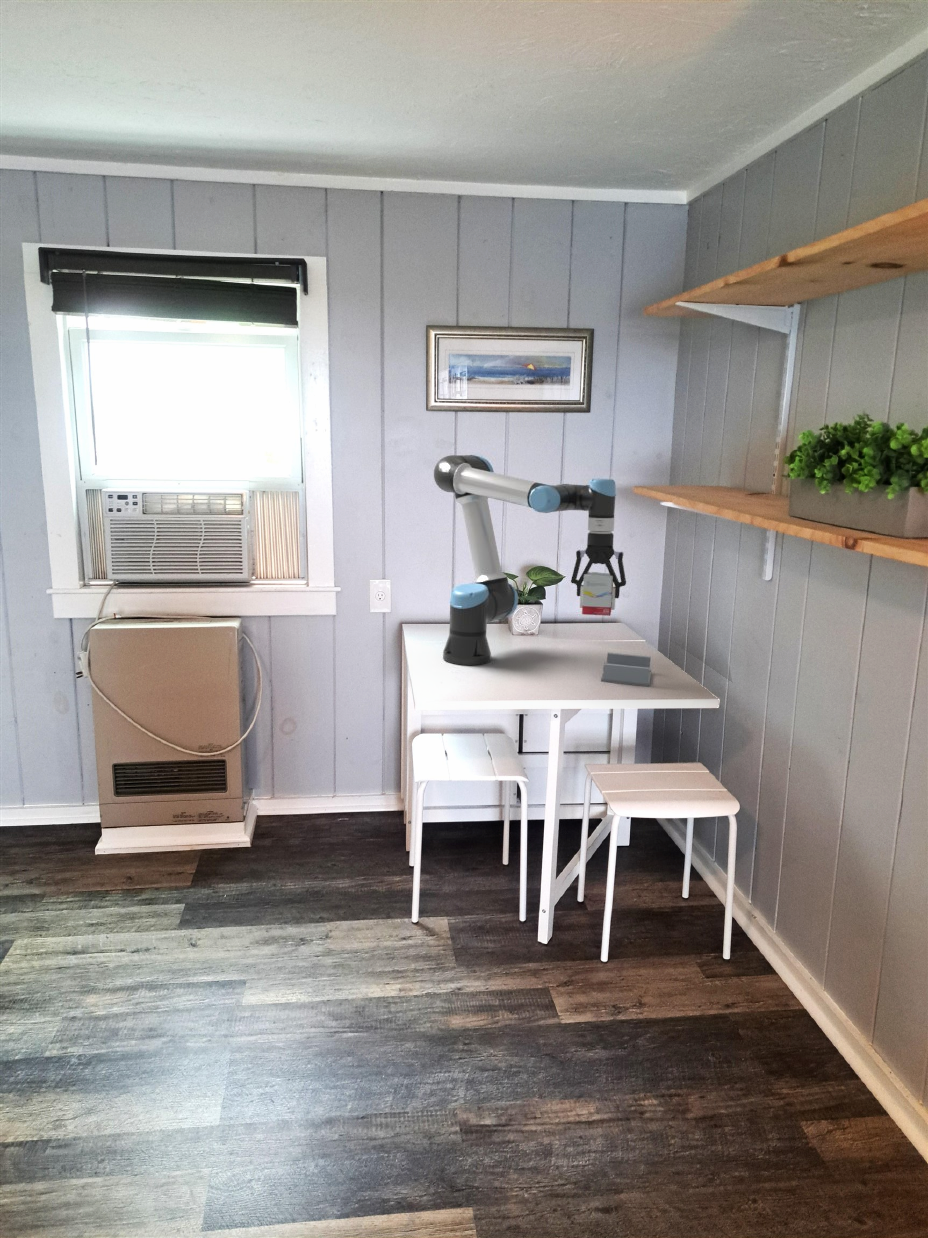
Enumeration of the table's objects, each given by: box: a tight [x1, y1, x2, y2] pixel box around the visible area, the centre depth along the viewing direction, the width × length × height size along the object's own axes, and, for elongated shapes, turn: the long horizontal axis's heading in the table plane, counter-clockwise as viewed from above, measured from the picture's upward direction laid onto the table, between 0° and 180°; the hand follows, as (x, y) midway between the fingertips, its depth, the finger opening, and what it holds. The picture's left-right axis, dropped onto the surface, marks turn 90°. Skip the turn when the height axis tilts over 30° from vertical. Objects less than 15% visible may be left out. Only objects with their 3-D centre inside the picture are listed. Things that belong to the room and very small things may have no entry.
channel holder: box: [600, 652, 652, 687], centre depth 252 cm, size 14×15×5 cm
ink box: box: [581, 571, 614, 617], centre depth 249 cm, size 9×9×12 cm
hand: (597, 608), depth 250 cm, fingers closed on ink box, 9 cm apart
